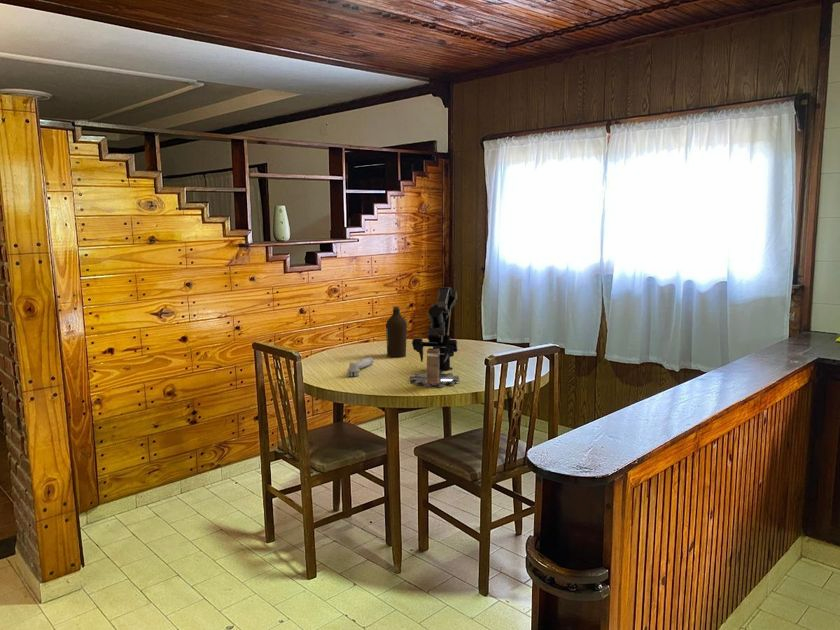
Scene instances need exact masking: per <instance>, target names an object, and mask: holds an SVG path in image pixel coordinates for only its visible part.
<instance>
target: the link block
mask: <svg viewBox="0 0 840 630" xmlns="http://www.w3.org/2000/svg"><path fill="white" fill-rule="evenodd" d="M439 354H440V349H433V347H429V348H428V349H427V350H426V372H427V381H428V382H438V381H439V372H440V370H439Z"/></svg>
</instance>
